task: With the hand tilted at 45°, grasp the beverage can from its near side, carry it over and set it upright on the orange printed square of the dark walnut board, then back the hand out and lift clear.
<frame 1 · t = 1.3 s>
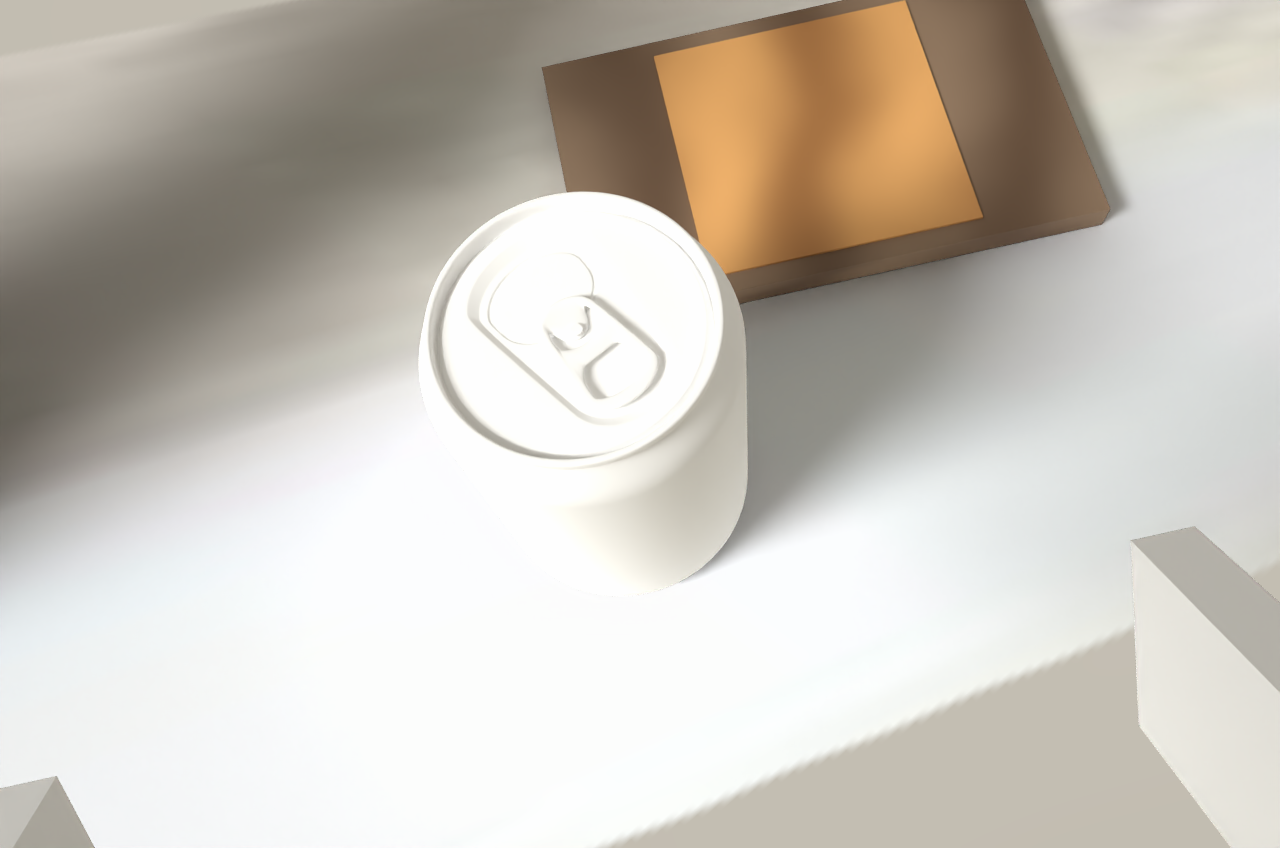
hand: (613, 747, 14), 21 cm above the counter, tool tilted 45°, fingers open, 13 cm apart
beverage can: (626, 482, 38), on the counter
label board: (809, 150, 41), on the counter
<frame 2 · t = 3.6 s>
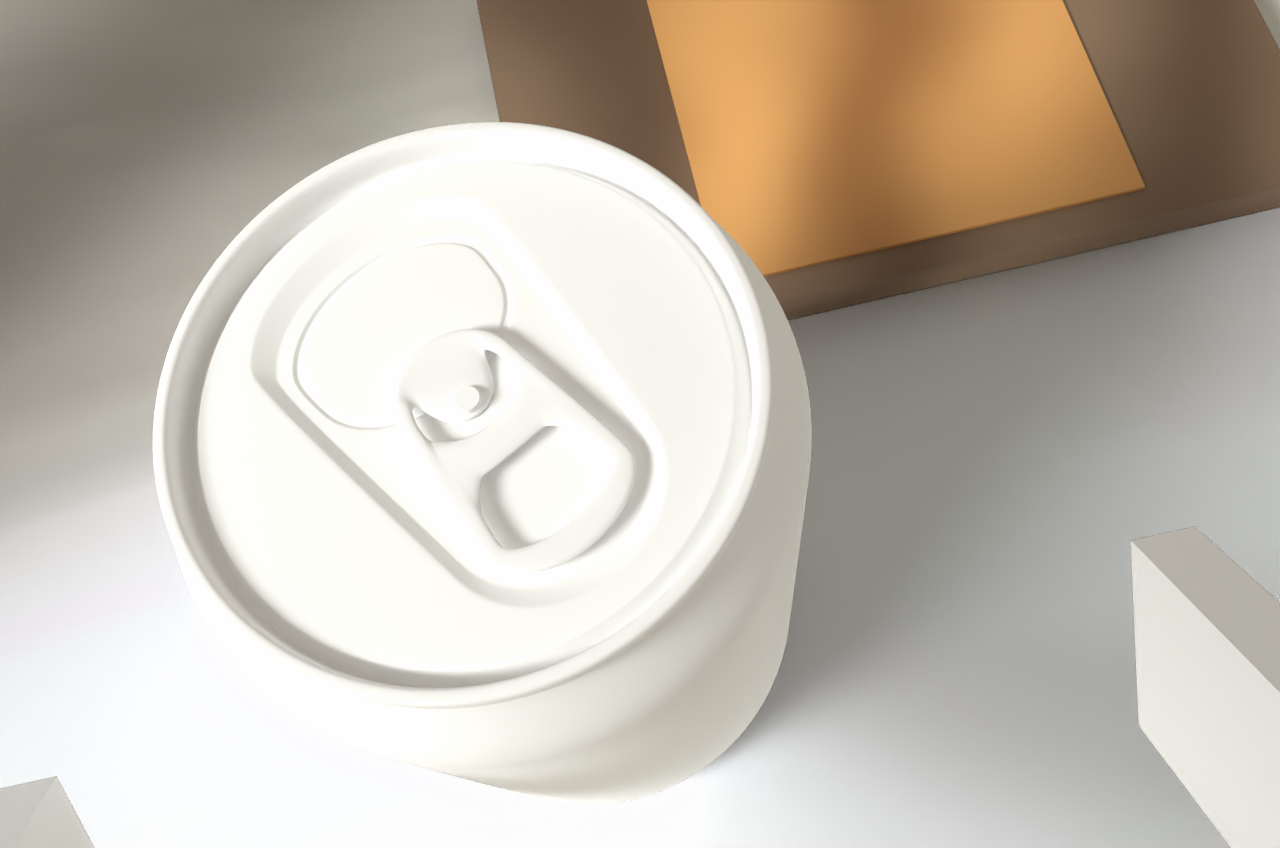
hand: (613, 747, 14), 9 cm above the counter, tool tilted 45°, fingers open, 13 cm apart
beverage can: (598, 607, 24), on the counter
label board: (868, 94, 28), on the counter
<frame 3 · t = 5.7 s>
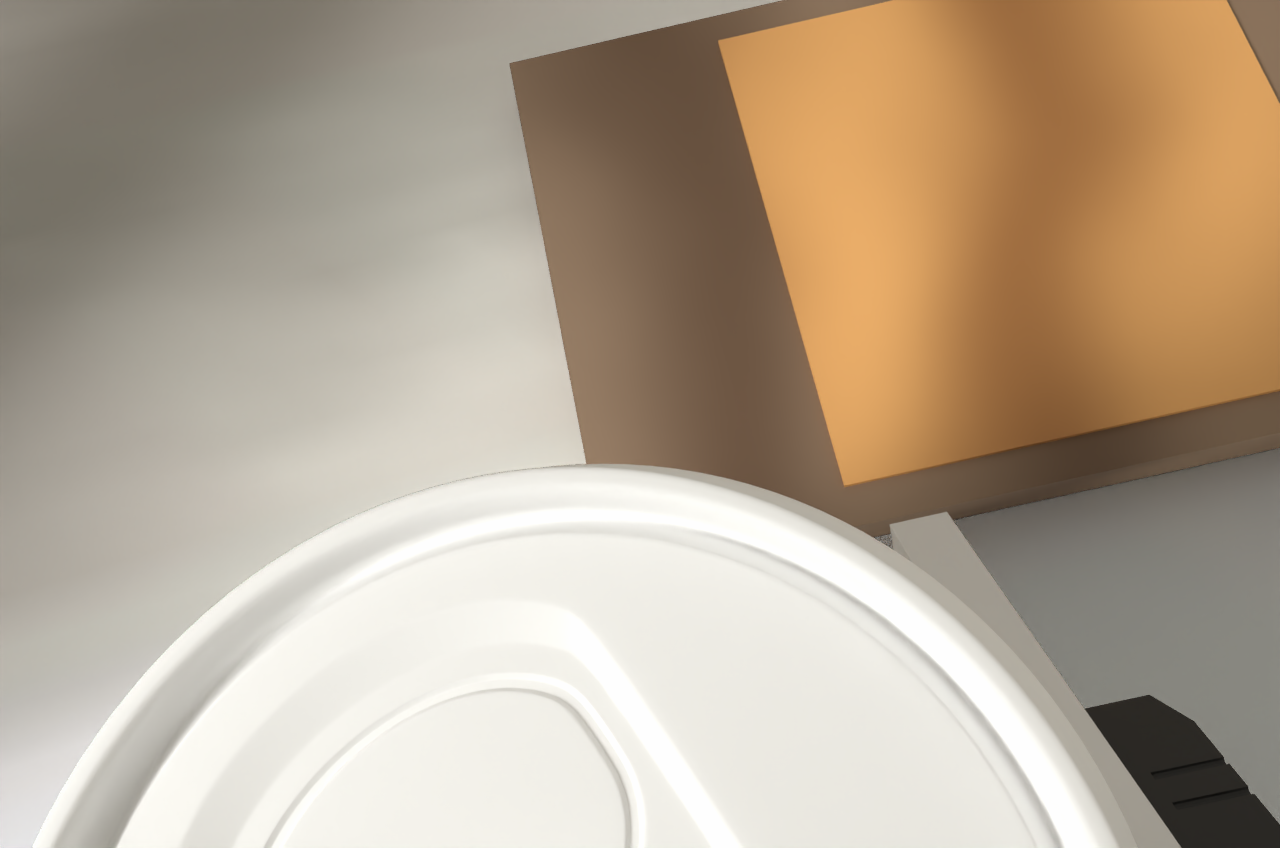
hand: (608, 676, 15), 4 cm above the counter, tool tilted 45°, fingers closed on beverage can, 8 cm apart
label board: (1019, 217, 22), on the counter
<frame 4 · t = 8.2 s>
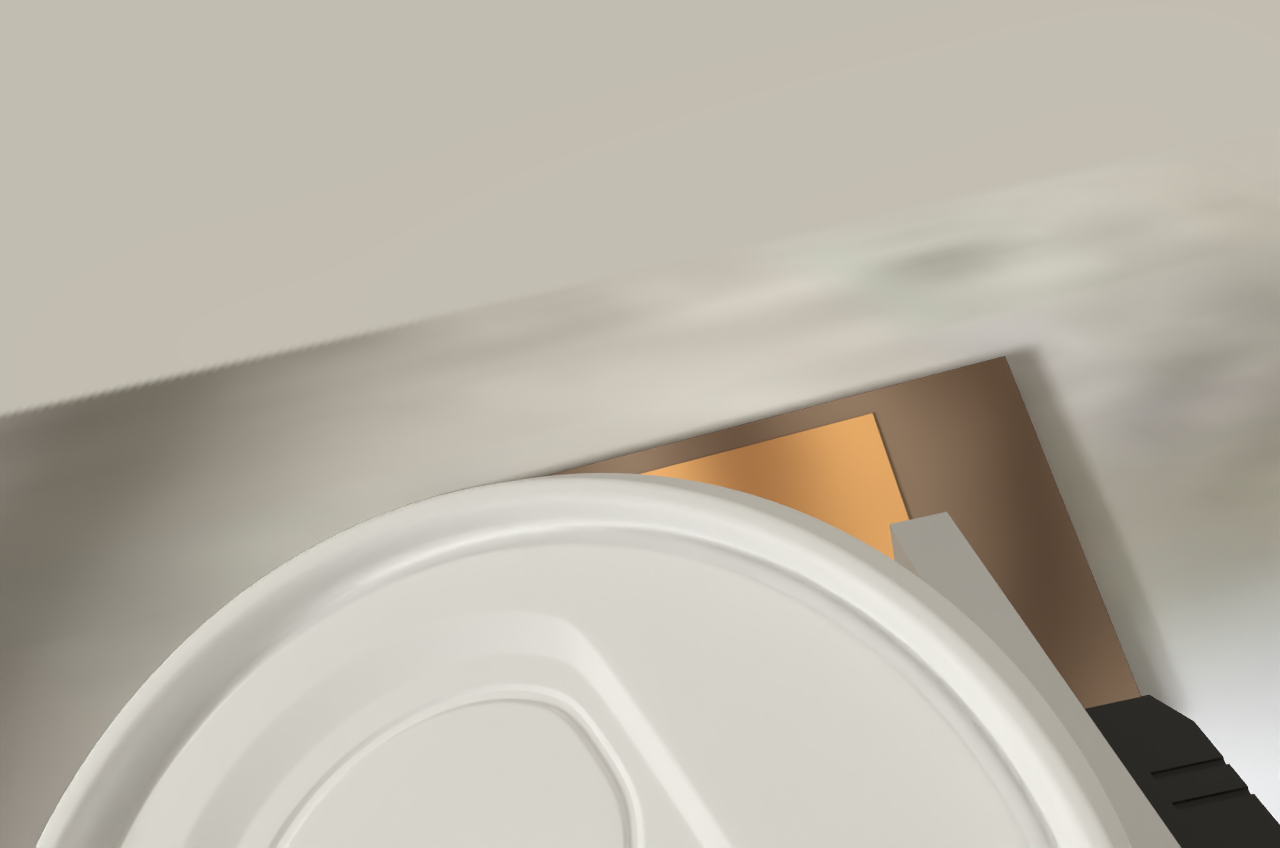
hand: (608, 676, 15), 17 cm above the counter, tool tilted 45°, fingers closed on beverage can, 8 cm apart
label board: (756, 624, 31), on the counter
when the fingers open (7 cm above the counter, at t = 10.9 s): beverage can drops 1 cm, resting on label board.
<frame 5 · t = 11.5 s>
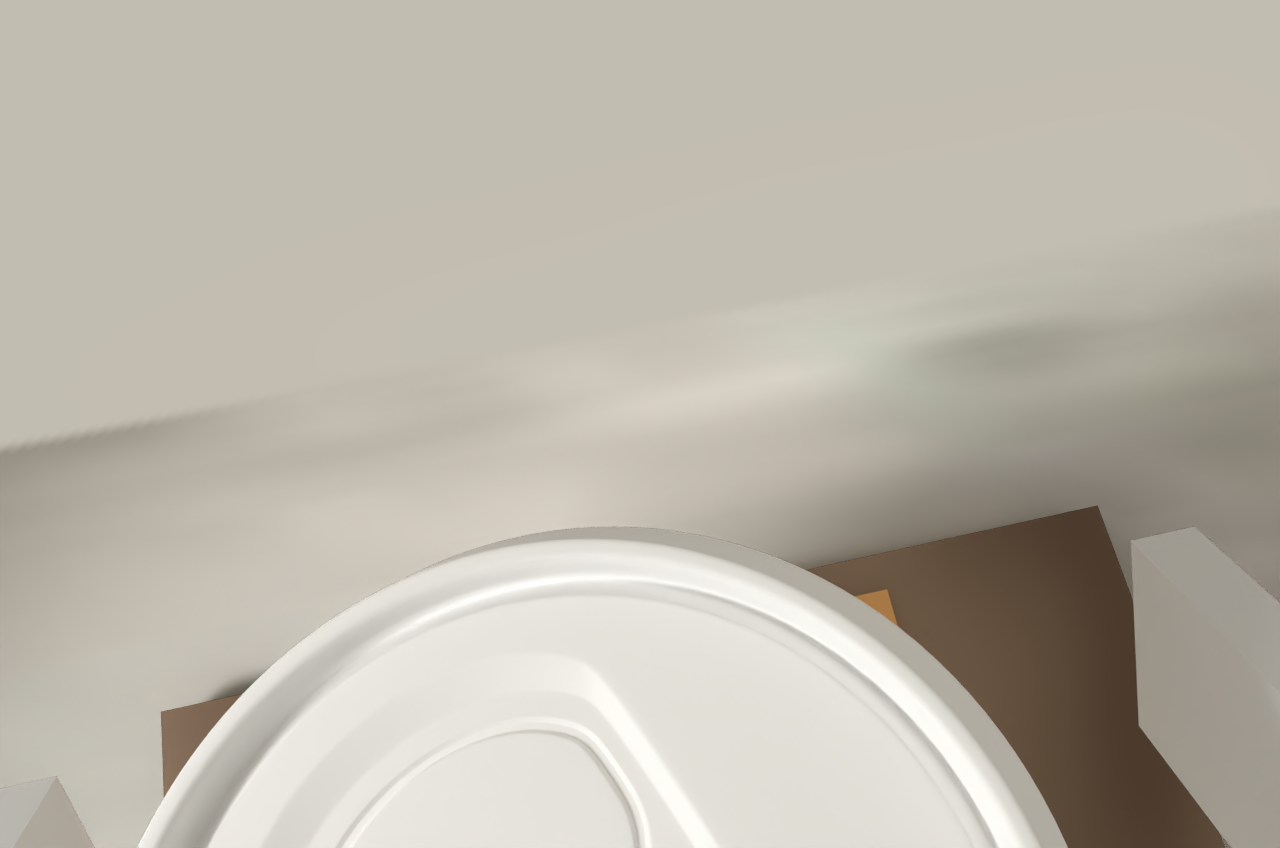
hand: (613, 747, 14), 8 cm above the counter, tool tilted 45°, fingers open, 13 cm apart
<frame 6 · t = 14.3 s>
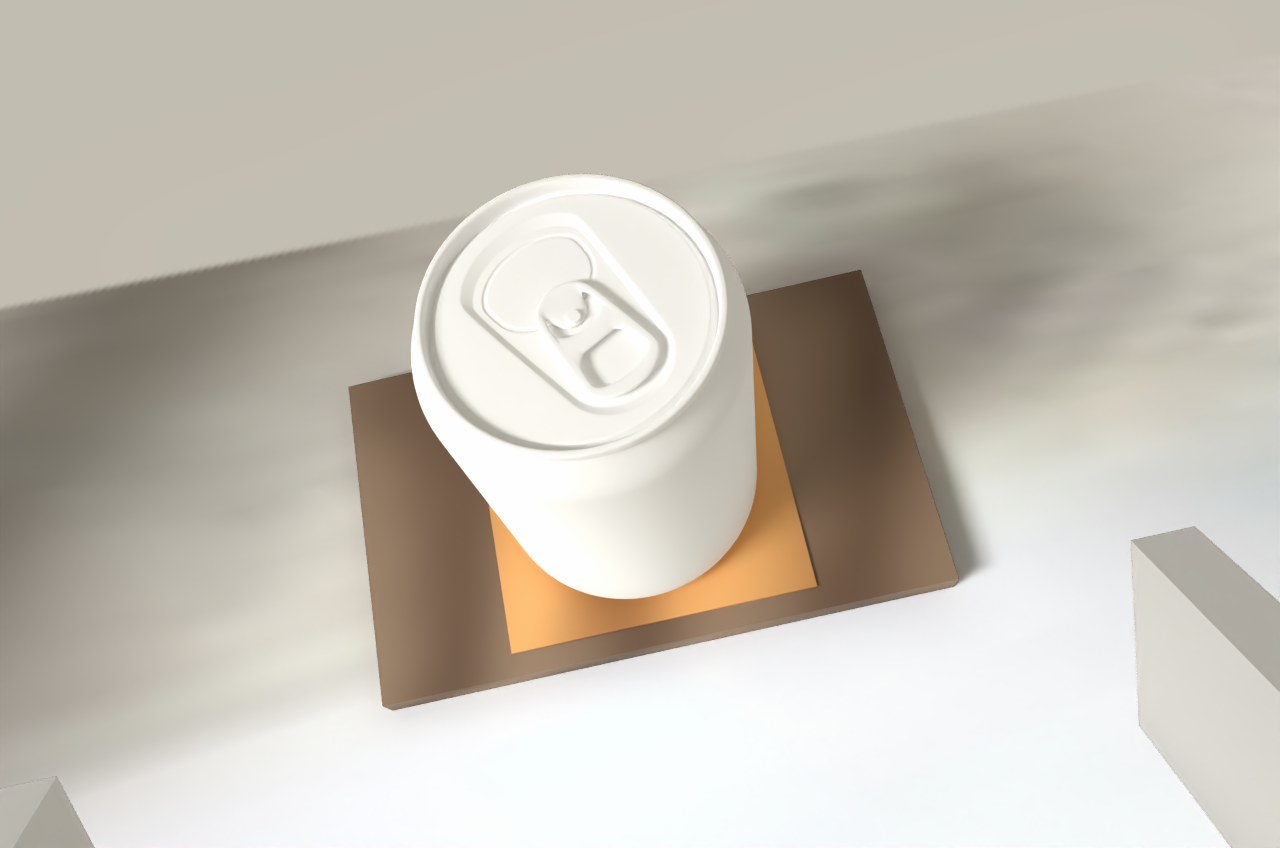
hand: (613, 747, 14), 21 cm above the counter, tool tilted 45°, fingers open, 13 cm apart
beverage can: (631, 482, 36), point 1 cm above the counter, touching label board
label board: (637, 486, 37), on the counter
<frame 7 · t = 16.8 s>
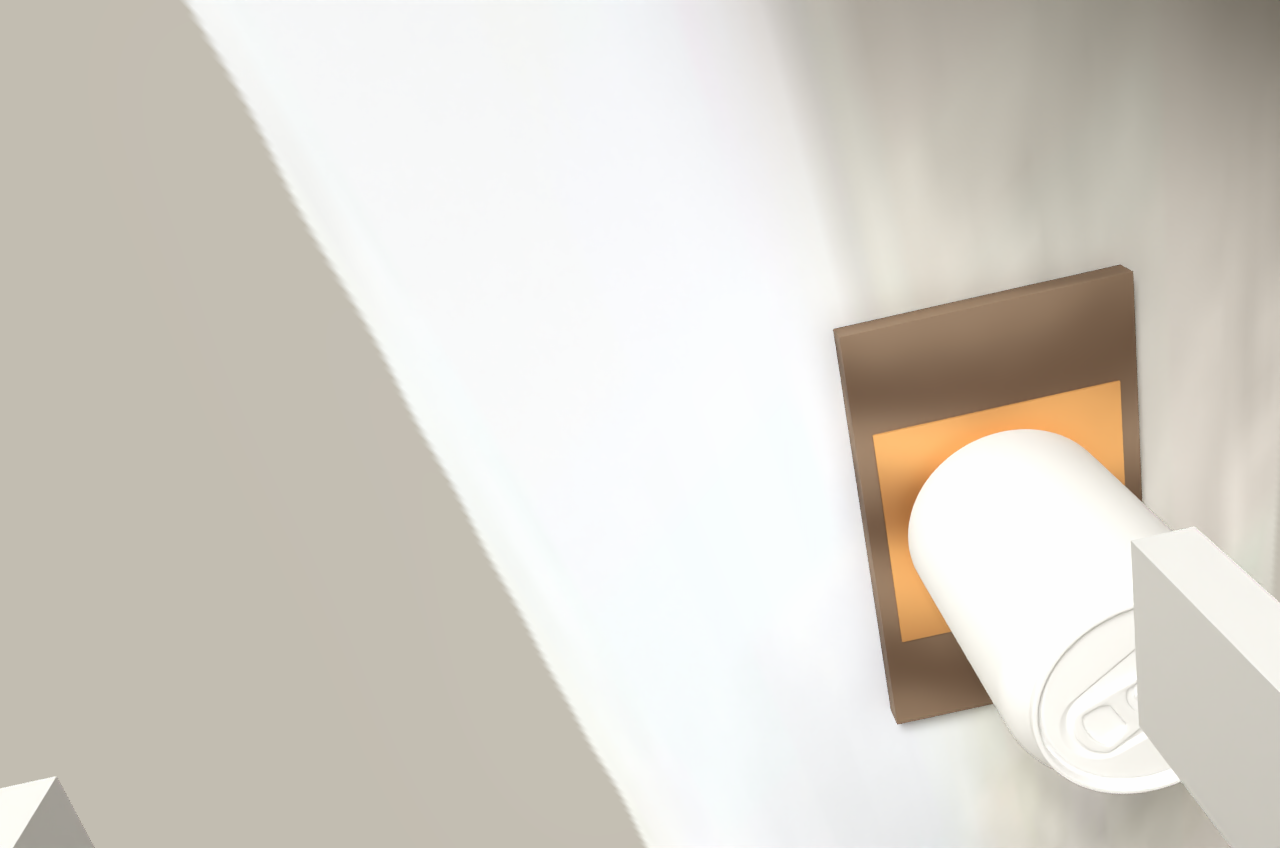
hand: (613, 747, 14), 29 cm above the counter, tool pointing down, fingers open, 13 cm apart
beverage can: (1001, 513, 45), point 1 cm above the counter, touching label board
label board: (996, 505, 46), on the counter
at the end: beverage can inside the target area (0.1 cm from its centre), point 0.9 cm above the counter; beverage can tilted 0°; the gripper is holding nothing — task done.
